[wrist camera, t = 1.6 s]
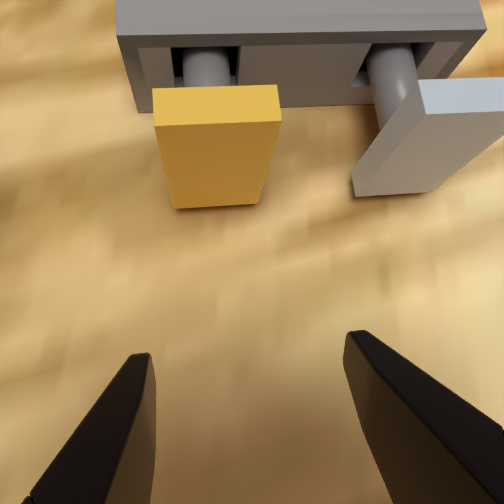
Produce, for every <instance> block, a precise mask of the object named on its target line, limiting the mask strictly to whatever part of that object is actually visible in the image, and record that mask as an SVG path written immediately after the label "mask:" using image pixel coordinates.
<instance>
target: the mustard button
mask: <svg viewBox="0 0 504 504" xmlns="http://www.w3.org/2000/svg"><path fill="white" fill-rule="evenodd" d="M181 52H182V66H183V79H184V88H152V93H153V112H154V127H155V131H156V135H157V140H158V144H159V148H160V153H161V157H162V161H163V165H164V170H165V174H166V178H167V182H168V187H169V191H170V195H171V199H172V204H173V208H174V209H180V208H195V207H211V206H226V205H242V204H257V203H258V201H259V198H260V194H261V191H262V188H263V184H264V181H265V177H266V174H267V170H268V167H269V163H270V160H271V157H272V153H273V150H274V146H275V143H276V139H277V136H278V132H279V129H280V126H281V122H282V118H281V111H280V103H279V96H278V89H277V85H248V86H231V78H230V69H229V59H228V50H227V46H212V47H181Z"/></svg>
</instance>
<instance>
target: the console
mask: <svg viewBox="0 0 504 504" xmlns="http://www.w3.org/2000/svg"><path fill="white" fill-rule="evenodd" d="M115 9H116V36H117V40H118V43H119V47H120V50H121V54H122V57H123V61H124V64H125V68H126V71H127V75H128V78H129V82H130V85H131V89H132V92H133V96H134V99H135V103H136V106H137V110H138V113H145V112H153V93H152V88H184V79H183V76H180V77H175V76H174V68H173V60H172V52H171V47H212V46H238V50H237V62H236V73H235V75H230V78H231V86H248V85H277V89H278V96H279V103H280V107H305V106H331V105H358V104H374V100H373V95H372V90H371V85H370V80H369V75H368V71H359V69H360V67H361V65H362V63H363V61H364V59H365V57H366V55H367V53H368V51H369V49H370V47H371V45H372V43H410V45H411V49H412V53H413V57H414V61H415V66H416V70H417V74H418V78H419V80H427V79H447V78H448V77H449V75H450V74H451V73H452V72H453V71H454V69H455V68H456V67H457V66H458V64H459V63H460V62H461V61H462V60H463V58H464V57H465V56H466V55H467V53H468V52H469V51H470V50H471V49H472V47H473V46H474V45H475V44H476V43H477V41H478V40H479V39H480V38H481V36H482V35H483V34H484V33H485V32H486V30H487V27H486V23H485V20H484V16H483V13H482V10H481V6H480V3H479V0H115ZM358 71H359V72H358Z"/></svg>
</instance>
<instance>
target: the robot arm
mask: <svg viewBox="0 0 504 504" xmlns="http://www.w3.org/2000/svg"><path fill="white" fill-rule="evenodd" d="M343 365H344V370H345V373H346V377H347V380H348V383H349V387H350V390H351V393H352V397H353V400H354V404H355V407H356V410H357V414H358V417H359V421H360V424H361V427H362V430H363V432H364V435H365V438H366V440H367V443H368V445H369V447H370V450H371V452H372V454H373V457H374V459H375V462H376V464H377V466H378V469H379V471H380V473H381V476H382V478H383V481H384V483H385V485H386V488H387V490H388V492H389V495H390V497H391V500H392V502H393V504H504V430H503V428H502V426H501V425H499V424H498V423H496V422H495V421H494V420H492V419H491V418H489V417H488V416H487V415H485V414H484V413H482V412H481V411H479V410H478V409H477V408H475V407H474V406H472V405H471V404H470V403H468V402H467V401H465V400H464V399H462V398H461V397H460V396H458V395H457V394H455V393H454V392H453V391H451V390H450V389H448V388H447V387H446V386H444V385H443V384H441V383H440V382H438V381H437V380H436V379H434V378H433V377H431V376H430V375H429V374H427V373H426V372H424V371H423V370H421V369H420V368H419V367H417V366H416V365H414V364H413V363H412V362H410V361H409V360H407V359H406V358H405V357H403V356H402V355H400V354H399V353H397V352H396V351H395V350H393V349H392V348H390V347H389V346H388V345H386V344H385V343H383V342H382V341H380V340H379V339H378V338H376V337H375V336H373V335H372V334H371V333H369V332H368V331H366V330H357V331H349V332H348V333H347V335H346V339H345V347H344V354H343ZM155 451H156V380H155V374H154V369H153V363H152V357H151V355H150V354H149V353H138V354H132V355H130V356H129V357H128V359H127V360H126V362H125V363H124V364H123V366H122V367H121V368H120V370H119V371H118V372H117V374H116V375H115V377H114V378H113V379H112V381H111V382H110V383H109V385H108V386H107V388H106V389H105V390H104V392H103V393H102V394H101V396H100V397H99V398H98V400H97V401H96V403H95V404H94V405H93V407H92V408H91V409H90V411H89V412H88V413H87V415H86V416H85V418H84V419H83V420H82V422H81V423H80V424H79V426H78V427H77V429H76V430H75V431H74V433H73V434H72V435H71V437H70V438H69V439H68V441H67V442H66V444H65V445H64V446H63V448H62V449H61V450H60V452H59V453H58V454H57V456H56V457H55V459H54V460H53V461H52V463H51V464H50V465H49V467H48V468H47V469H46V471H45V472H44V474H43V475H42V476H41V478H40V479H39V480H38V482H37V483H36V485H35V486H34V487H33V489H32V490H31V491H30V496H31V497H30V496H27V497H26V498H25V499H24V501H23V502H22V503H21V504H150V497H151V490H152V482H153V474H154V465H155Z"/></svg>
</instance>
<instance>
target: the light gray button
mask: <svg viewBox="0 0 504 504" xmlns="http://www.w3.org/2000/svg"><path fill="white" fill-rule="evenodd" d="M365 60H366V65H367V70H368V75H369V80H370V85H371V90H372V95H373V100H374V105H375V109H376V114H377V119H378V124H379V129H380V133H379V134H378V136H377V137H376V138H375V140H374V141H373V142H372V144H371V145H370V147H369V148H368V149H367V151H366V152H365V154H364V155H363V156H362V158H361V159H360V160H359V162H358V163H357V165H356V166H355V167H354V169H353V170H352V171H351V175H352V180H353V186H354V192H355V197H360V196H376V195H391V194H407V193H422V192H432V191H433V190H434V189H436V188H437V187H438V186H440V185H441V184H442V183H443V182H445V181H446V180H447V179H448V178H450V177H451V176H452V175H453V174H455V173H456V172H457V171H459V170H460V169H461V168H462V167H464V166H465V165H466V164H467V163H469V162H470V161H471V160H472V159H474V158H475V157H476V156H478V155H479V154H480V153H481V152H483V151H484V150H485V149H486V148H488V147H489V146H490V145H491V144H493V143H494V142H495V141H497V140H498V139H499V138H500V137H502V136H503V135H504V77H491V78H459V79H427V80H419V78H418V74H417V70H416V66H415V61H414V57H413V53H412V49H411V45H410V43H372V45H371V47H370V49H369V51H368V53H367V55H366V57H365Z"/></svg>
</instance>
